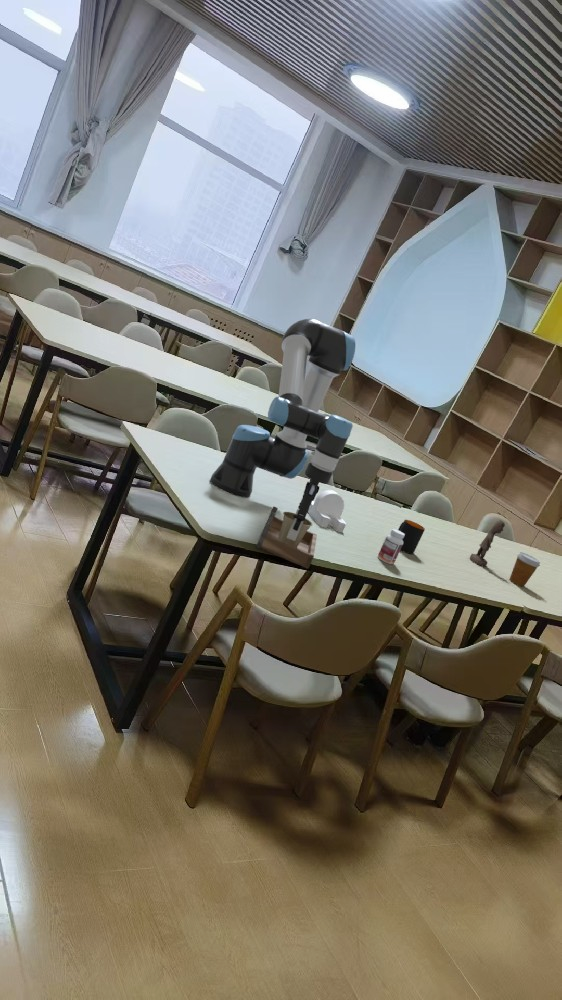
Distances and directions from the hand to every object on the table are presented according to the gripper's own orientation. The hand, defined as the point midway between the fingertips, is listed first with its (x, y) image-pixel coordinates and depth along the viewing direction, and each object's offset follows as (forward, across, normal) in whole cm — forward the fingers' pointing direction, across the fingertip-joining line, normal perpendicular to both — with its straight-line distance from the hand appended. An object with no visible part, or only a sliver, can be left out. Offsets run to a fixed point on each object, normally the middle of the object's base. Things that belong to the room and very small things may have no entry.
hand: (292, 534), depth 227 cm
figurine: (+5, -91, +79) cm, 121 cm away
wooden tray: (+4, 0, 0) cm, 4 cm away
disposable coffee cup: (+4, -83, +95) cm, 126 cm away
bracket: (+5, -52, +10) cm, 53 cm away
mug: (+4, -61, +42) cm, 74 cm away
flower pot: (+4, 0, 0) cm, 4 cm away
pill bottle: (+4, -32, +34) cm, 47 cm away
